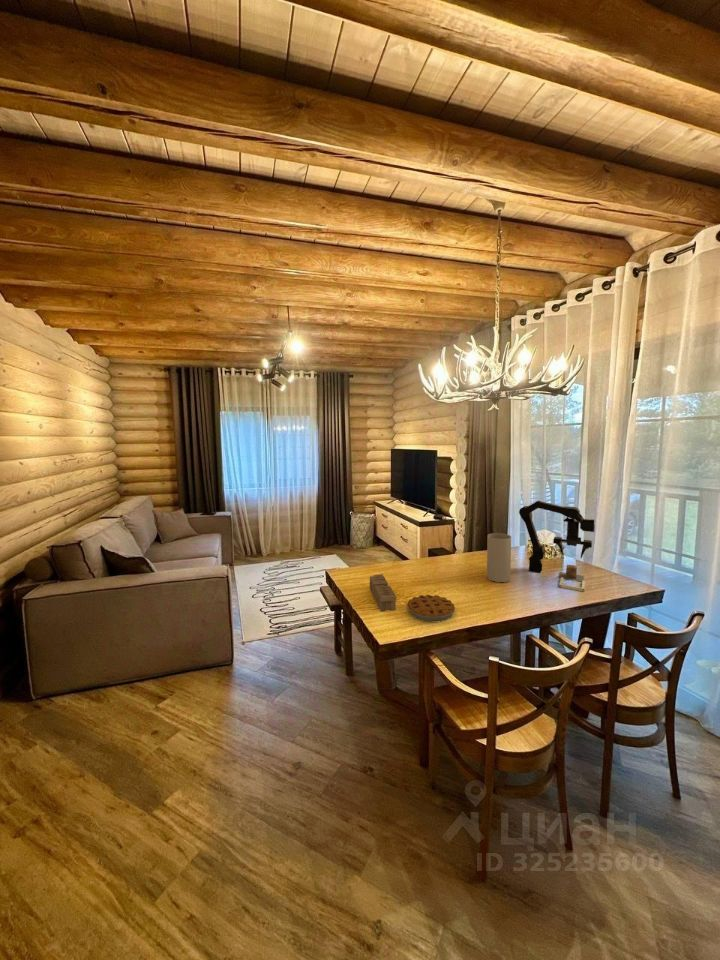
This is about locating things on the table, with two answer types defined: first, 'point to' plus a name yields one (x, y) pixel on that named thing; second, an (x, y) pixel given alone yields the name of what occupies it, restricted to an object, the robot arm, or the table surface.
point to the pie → (431, 608)
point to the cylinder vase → (498, 557)
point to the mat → (578, 578)
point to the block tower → (382, 593)
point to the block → (571, 571)
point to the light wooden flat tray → (571, 586)
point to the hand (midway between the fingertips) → (571, 556)
